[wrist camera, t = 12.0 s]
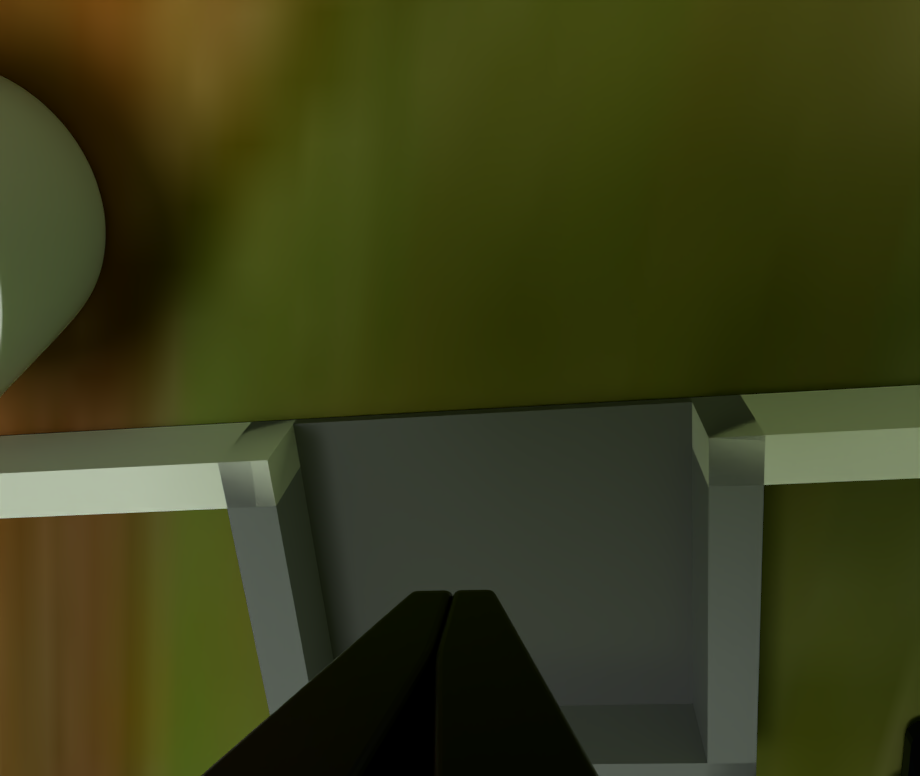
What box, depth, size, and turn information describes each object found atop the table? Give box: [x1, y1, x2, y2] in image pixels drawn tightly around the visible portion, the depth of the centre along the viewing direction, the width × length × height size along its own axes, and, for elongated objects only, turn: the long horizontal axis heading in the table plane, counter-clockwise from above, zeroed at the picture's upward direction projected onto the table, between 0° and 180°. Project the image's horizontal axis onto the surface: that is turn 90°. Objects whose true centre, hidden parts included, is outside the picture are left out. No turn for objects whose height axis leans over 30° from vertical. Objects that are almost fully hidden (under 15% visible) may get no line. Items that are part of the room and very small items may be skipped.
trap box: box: [0, 385, 920, 776], centre depth 18 cm, size 34×32×5 cm
